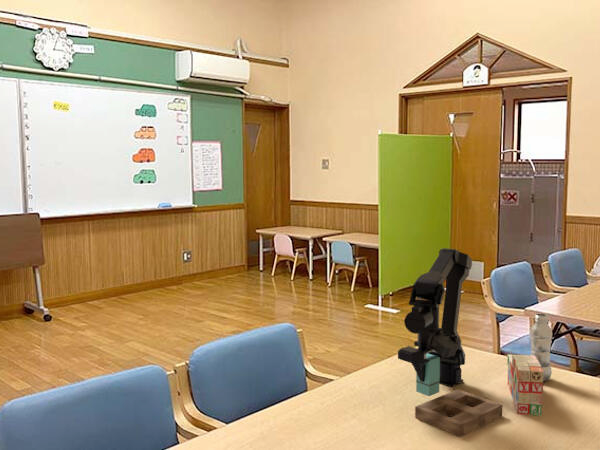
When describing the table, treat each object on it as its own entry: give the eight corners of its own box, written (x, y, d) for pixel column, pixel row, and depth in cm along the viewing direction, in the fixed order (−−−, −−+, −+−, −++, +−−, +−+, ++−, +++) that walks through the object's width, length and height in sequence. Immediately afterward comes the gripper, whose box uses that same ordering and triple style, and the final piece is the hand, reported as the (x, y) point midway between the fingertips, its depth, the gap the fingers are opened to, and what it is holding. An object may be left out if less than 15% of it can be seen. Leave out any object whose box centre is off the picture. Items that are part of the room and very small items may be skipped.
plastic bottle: (553, 378, 178) (555, 313, 176) (549, 385, 173) (551, 319, 171) (530, 374, 182) (532, 311, 180) (526, 381, 176) (527, 316, 174)
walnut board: (415, 417, 152) (415, 406, 152) (457, 399, 164) (457, 389, 163) (460, 436, 142) (460, 424, 141) (502, 415, 153) (502, 404, 152)
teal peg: (416, 391, 162) (416, 356, 161) (426, 387, 164) (426, 353, 163) (429, 396, 158) (429, 360, 157) (439, 392, 161) (439, 357, 160)
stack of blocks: (506, 384, 175) (507, 344, 173) (529, 385, 173) (530, 345, 172) (517, 414, 154) (518, 369, 152) (542, 416, 152) (543, 370, 151)
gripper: (429, 337, 147) (429, 397, 149) (474, 323, 159) (473, 379, 160) (396, 328, 156) (396, 384, 158) (440, 315, 167) (440, 368, 169)
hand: (427, 379), depth 161 cm, fingers closed on teal peg, 4 cm apart
